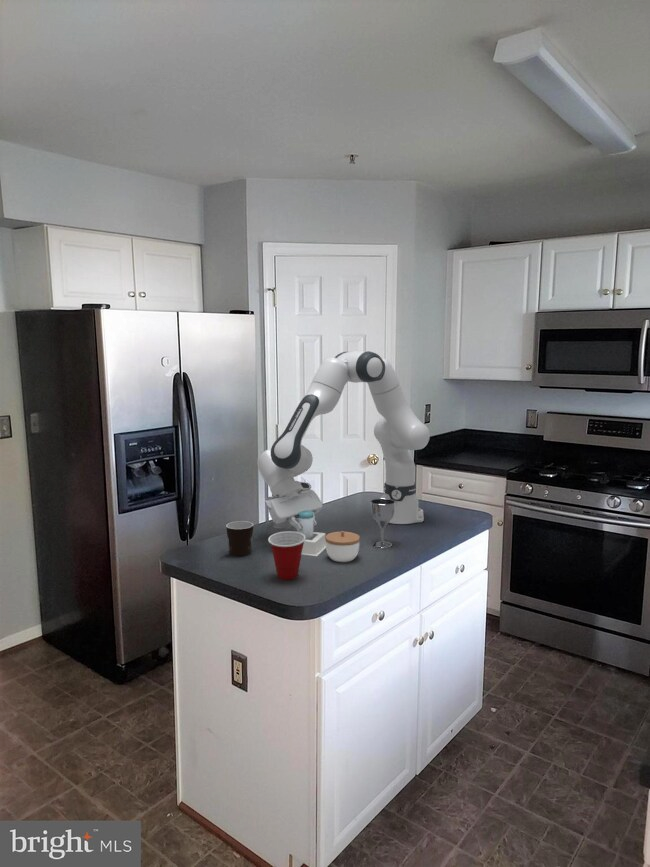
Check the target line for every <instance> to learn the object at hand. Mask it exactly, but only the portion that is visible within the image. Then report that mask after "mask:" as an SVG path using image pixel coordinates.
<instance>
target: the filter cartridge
mask: <svg viewBox="0 0 650 867" xmlns="http://www.w3.org/2000/svg"><path fill="white" fill-rule="evenodd" d="M298 523H301V524H302V526H303V529H302V530H299V533H302V534H304V535H305V537H306V540H313V532H314V526H313V511H309V510H305V511H301V512H299V518H298Z"/></svg>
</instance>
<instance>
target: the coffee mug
mask: <svg viewBox="0 0 650 867" xmlns="http://www.w3.org/2000/svg"><path fill="white" fill-rule="evenodd" d="M225 528H226V529H225V530H226V534H227V542H228V550H229V555H230V556H232V557H237V558H239V557H241V558H242V557H247V556H249V555H250V554H251V553H252V544H253V533H254V523H253V522H251V521H247V520H239V521H236V520H235V521H232V522H229V523H227V524H226V525H225Z"/></svg>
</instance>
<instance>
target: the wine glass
mask: <svg viewBox="0 0 650 867" xmlns="http://www.w3.org/2000/svg"><path fill="white" fill-rule="evenodd" d="M394 509H395V501H394V500H392V499H386V498H380V497H378V498H373V499H371V500H370V511H371V517H372V518H373V520H374V521H375V522H376V523H377V525H378V526H379V530H380V540H378V541H377V540H376V542H375V543H374V544H373V545H372V547H374V546H375V548H377V547H381V548H380V549H387V548H388V547H389V548H391V546H392V544H393V543H392V542H390V541H385V540H384V534H385V528H386V526H387V525H388V524H390V523H389V521H390V520H391V519H392V517H393V514H394ZM392 547H393V546H392Z"/></svg>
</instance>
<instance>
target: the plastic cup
mask: <svg viewBox="0 0 650 867" xmlns="http://www.w3.org/2000/svg"><path fill="white" fill-rule="evenodd" d="M267 538H268V540H267V541H268V544H270V546H271V551H272V554H273V562H274V565H275V566H274V567H275V568H276V570H275V572H276V575H277V578H278V579H280V580H281V581H282V580H284V581H292V580H295V579H297V577H298V575H299V570H300V566H301V559H302V555H303V554H302V548H303V544H304V541H305V539H306V537H305V535H304V534H302V533H299V532H296V531H290V530H289V531H287V530H286V531H280V532H279V531H278V532H275V533H274V534H271V535H270V536H269V537H267Z"/></svg>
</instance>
